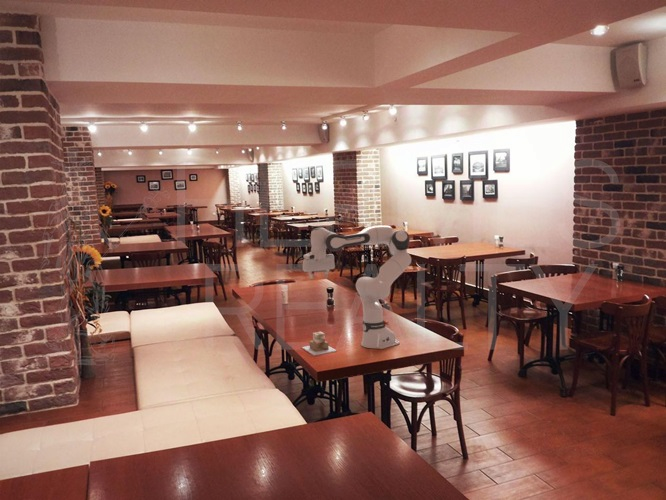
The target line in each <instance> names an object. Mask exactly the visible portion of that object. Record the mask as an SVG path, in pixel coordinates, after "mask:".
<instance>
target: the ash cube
mask: <svg viewBox="0 0 666 500" xmlns="http://www.w3.org/2000/svg"><path fill="white" fill-rule="evenodd" d="M325 334H326V333H324V332H322V331H315V332H312V341H313V342H315V343H317V344H318V343H324V342H325V341H326V335H325Z"/></svg>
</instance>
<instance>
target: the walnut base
mask: <svg viewBox="0 0 666 500" xmlns="http://www.w3.org/2000/svg"><path fill="white" fill-rule="evenodd" d="M308 343H309V346H310V349H312V350H314V351H315V352H317V351H323V350H328V349H329V342H328V341H327V340H325V342H324V343H318V344H317V343H315V342H313V340H309V342H308Z"/></svg>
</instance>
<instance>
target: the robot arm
mask: <svg viewBox="0 0 666 500" xmlns="http://www.w3.org/2000/svg"><path fill="white" fill-rule="evenodd" d="M410 239H411V238H410V235H409V233H408V232H407V231H406V230H403V229H397V230H395V231H394V229H393V227H392V226H390V225H372V226H369V227H365V228H363V229H362V230H361V231H359V232H358V233H352V234H348V235H341V234H338V233H336V232H333V231H331V230H328V229H326V228H324V227H323V226H321V227H316V228H313V229H312V230H311V233H310V244H311V248H310V252H308V253H306V254H303V260H302V267H301V268H302V271H303V272H304V273H306V272H307V273H308V274H309V276H310V277H309V278H310V280H312V279H313V280H314V278H315V276H314V275H313V272H315V271H316V272H317V271H326V272H325V273H324V278H328V277H329V274H330V270H334V269H335V268H336V265H335V263H336V262H335V255H334V254H333V253H327V250H329V251H332V252H338V251H340V250H342V249H344V248H346V247H350V246H356V245H366V246H372V245H382V244H384V245H386V246H385V248H386V249H387V251H388V253H389V255H390V258H389V259H388V260H386V262H384V263H383V264H382V265H381V266H380V267H379V270H378V272H379V273H378V275H377V276H375V277H371V276H361V277H359V278H358V279H357V280H356V282H355V289H356V291H357V292H358V295H359V296H360V297H359V298H360V301H361V304H362V315H363V317H362V318H363V320H362V339H361V344H360V345H361V347H363V348H368V349H379V350H382V349H387V348H390V347H393V346H397V345H400V340H398V339H396V334H395V332H394V331H393V330H391V329H390V328H388V327H387V326H388V325H389V323H390V321H387V320H384V319H383V318H384V317H383V312H384V311H383V305H382V304H381V303H380V301H379V300H384V299H387V298H388V297H389V295H390V293H391V286H392V284H393V283H394V282H395V281H396V280H397V279H398V278H399V277H400V276H401V275H402V274H403V273H404V272H405V271H406V270H407V269H408V267H409V266H410V265H411V263H412V257H411V255H410V254H409V253H408V251H407V250H408V249H409V246H410ZM386 325H387V326H386Z"/></svg>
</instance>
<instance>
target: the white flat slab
mask: <svg viewBox="0 0 666 500" xmlns="http://www.w3.org/2000/svg"><path fill="white" fill-rule="evenodd" d="M301 349H303V350H305V351H306V352H308V353H309V354H310V355H312V356H314V357H315V356H318V355H319V356H320V355H325V354H330V353H336V352H338V350H337V349H335V348H333V347H331V346H329V349H328V350H323V351H317V352H315V351H314V350H312V349H310V345H305V346H302V347H301Z"/></svg>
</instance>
